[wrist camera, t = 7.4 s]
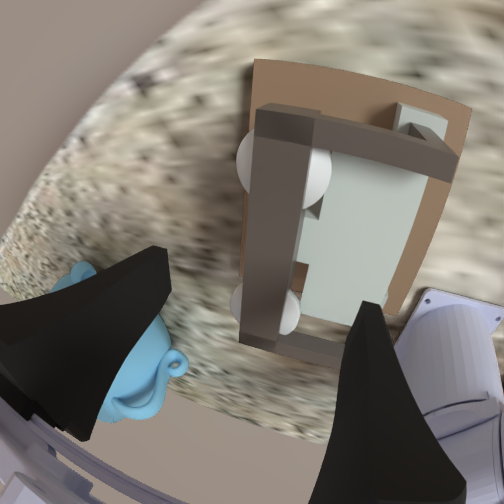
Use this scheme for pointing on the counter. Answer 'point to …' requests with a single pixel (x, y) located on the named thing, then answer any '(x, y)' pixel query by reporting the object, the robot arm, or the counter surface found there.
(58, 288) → the decorative pot
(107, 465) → the robot arm
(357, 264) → the tan board with cubes
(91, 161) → the counter surface
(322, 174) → the bracket with white balls
